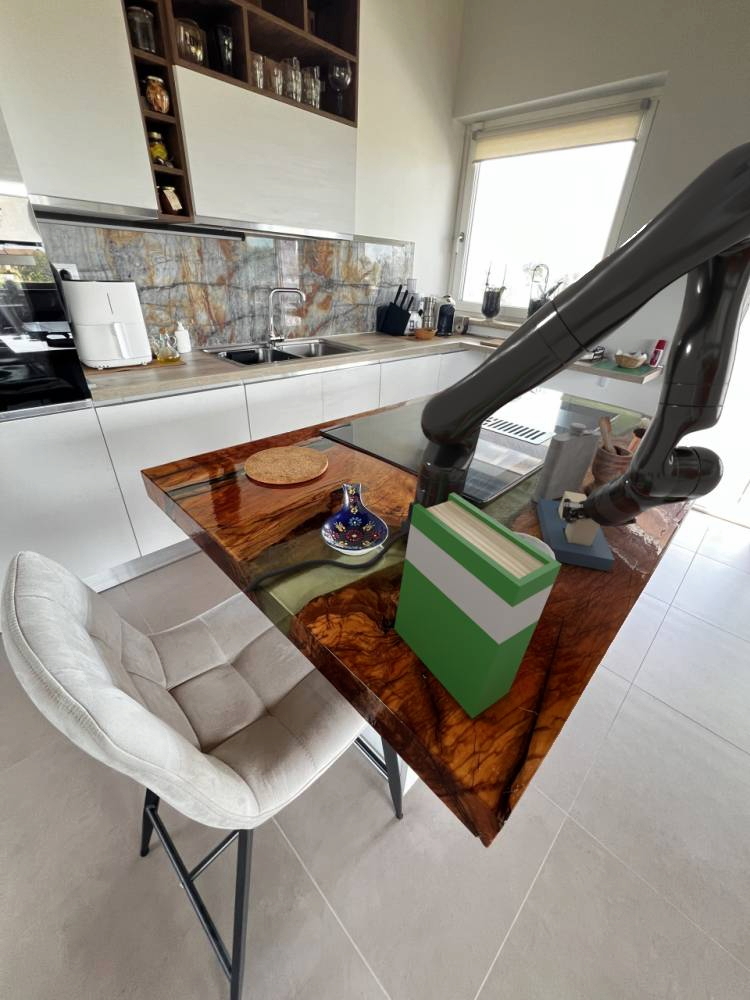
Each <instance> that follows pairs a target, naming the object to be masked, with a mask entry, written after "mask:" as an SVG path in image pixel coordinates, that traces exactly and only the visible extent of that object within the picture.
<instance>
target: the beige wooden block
mask: <svg viewBox="0 0 750 1000" xmlns="http://www.w3.org/2000/svg"><path fill="white" fill-rule="evenodd" d="M587 497H588V496H586V494H584V493H580V492H579V493H574V492H568V491H565V493H564V496H563V497H561V498H562V499H561V501H560V502H561V504H560V506H559V509H558V515H559V518H560V520H565V518H562V513H563V504H564V499H566V498H568V499H571V501H573V503H579V502H580V501H584V500H586V499H587Z"/></svg>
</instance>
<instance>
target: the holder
mask: <svg viewBox="0 0 750 1000" xmlns="http://www.w3.org/2000/svg"><path fill="white" fill-rule="evenodd" d="M560 504H561V501H558V500H554V499H553V500H548V499H542V498H540V499H539V502H538V503H537V504H536V513H537V517H538V521H539V527H540V531H541V536H542V539H543V542H544V543H545V544H547V545H548V546H549V547H550V549H551V550H552V551H553V552H554V554H555V559H556V561H558V562H559V563H564V564H569V565H574V566H579V567H584V568H590V569H594V570H599V571H605V572H610V571H611V569H612V568H613V565H614V563H615V561H616V558H615V557H614V555H613V552H612V550H611V548H610V546H609V543H608V541H607V539H606V537H605V534H604V532H603V530H602V528H601V526H599V529H598V531H597V533H596V535H595V538H594V540H593V542H592V544H591V546H586V545H581V544H576V543H570V542H567V541H566V538H565V535H564V532H565V529H566V527H567V524H568V523H567V521H565V520H560V518H559V515H558V509H559V506H560Z"/></svg>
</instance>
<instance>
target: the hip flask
mask: <svg viewBox="0 0 750 1000" xmlns="http://www.w3.org/2000/svg"><path fill="white" fill-rule="evenodd" d="M601 437H602V434H601V431H598V430H593V429H587V426H586V425H585V424H583V423H579V422H571V423H570V425H569V431H568V432H563V433H558V434H556V435H553V436H552V438H551V441H550V444H549V448H548V450H547V453H546V457H545V460H544V462H543V466H542V469H541V471H540V474H539V478H538V481H537V484H536V487H535V490H534V493H533V496H532V501H533V502H534V503H536V504H538V502H539V499H540V498H542V499H548V500H553V501H554V500H556V499H560V498H563V496H564V493H565V491H568V492H574V493H579V494H580V490H581V487H582V485H583V483H584V480H585V477H586V475H587V472H588V470H589V467H590V466H591V465H590V464H591V462H592V461H593V457H594V456H595V453H596V450H597V448H598V445H599V441H600V439H601Z"/></svg>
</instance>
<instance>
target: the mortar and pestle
mask: <svg viewBox="0 0 750 1000" xmlns="http://www.w3.org/2000/svg"><path fill="white" fill-rule="evenodd" d="M611 421H612V420H611V419H610V417H609V416H607V415H606V416H602V417H599V418H598V428H599V430H600V431H599V432H600V433H601V437H602V441H603V443H601V444H598V445H597V447H596V450H595V453H594V456H593V457H594V458H593V459H592V464H591V474H592V476H593V478H594V480H593V481H591V482H588V483H587V484H586V486H585V487H584V491H585V493H587V494H588V496H589V495H590V494H591V493H592V492H593V491H594V490H596V489H597V488H599V487H600V486H602V485H603V484H605V483H606V482H608V481H609V480H611V479H613V478H616V477H618V476H620V475H621V474H623V473H624V472H626V471H628V470H629V464H630V461H631V459H632V456H633V454H634V453H633V452H632V451H630V450H629V449H628V448H626V447H624V446H620V445H617V444H614V443H613V435H612V434H613V433H612V432H613V431H612V422H611Z"/></svg>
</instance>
